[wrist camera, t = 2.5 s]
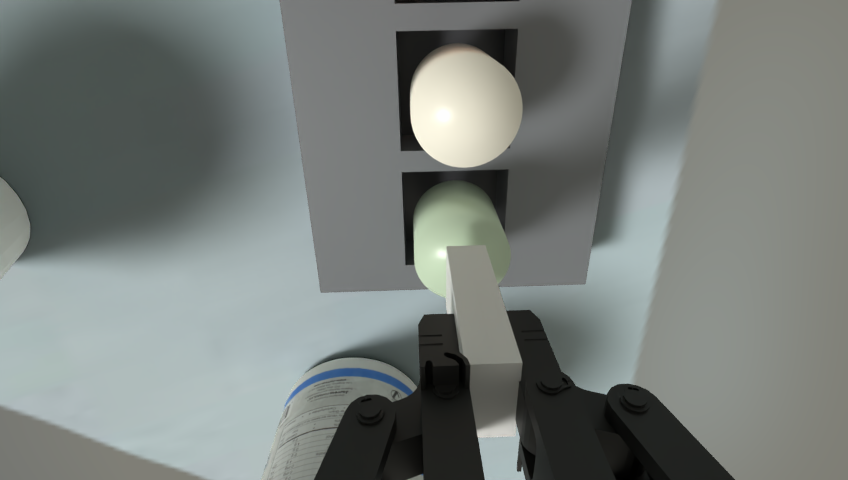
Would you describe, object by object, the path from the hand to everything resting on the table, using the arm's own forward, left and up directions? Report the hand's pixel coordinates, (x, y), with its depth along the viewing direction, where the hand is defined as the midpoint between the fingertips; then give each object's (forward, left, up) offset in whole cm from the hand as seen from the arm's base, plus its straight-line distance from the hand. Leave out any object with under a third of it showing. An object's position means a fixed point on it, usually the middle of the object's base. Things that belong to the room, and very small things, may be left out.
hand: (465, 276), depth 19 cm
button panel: (-5, -3, -8) cm, 10 cm away
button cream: (-5, -3, -5) cm, 8 cm away
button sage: (0, 0, -5) cm, 5 cm away
